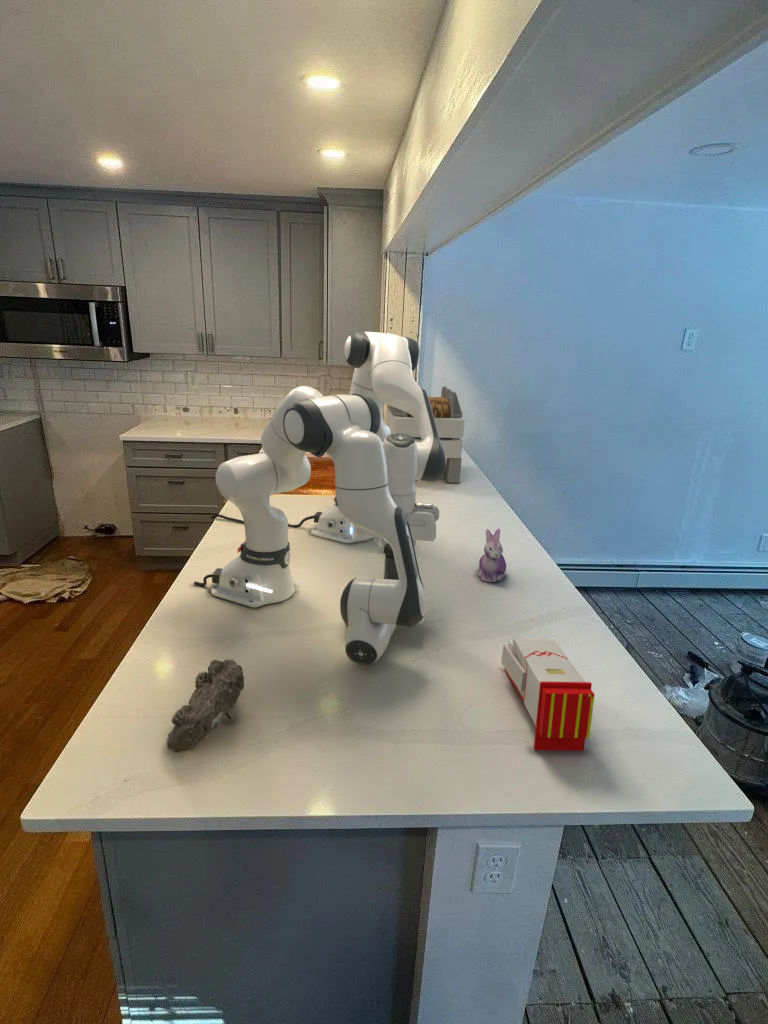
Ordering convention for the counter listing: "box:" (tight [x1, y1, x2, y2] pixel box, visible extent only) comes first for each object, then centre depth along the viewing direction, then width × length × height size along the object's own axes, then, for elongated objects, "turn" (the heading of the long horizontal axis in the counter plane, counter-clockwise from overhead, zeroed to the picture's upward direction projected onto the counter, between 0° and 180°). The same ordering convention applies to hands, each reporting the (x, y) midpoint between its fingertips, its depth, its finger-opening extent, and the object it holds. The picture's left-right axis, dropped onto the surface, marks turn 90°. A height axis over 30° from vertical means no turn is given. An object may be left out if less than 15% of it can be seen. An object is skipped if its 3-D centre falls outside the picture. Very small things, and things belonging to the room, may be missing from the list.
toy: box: [500, 637, 595, 752], centre depth 114 cm, size 12×13×30 cm
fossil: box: [166, 658, 245, 754], centre depth 106 cm, size 22×10×15 cm
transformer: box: [385, 386, 465, 484], centre depth 268 cm, size 34×33×41 cm
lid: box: [383, 542, 394, 557], centre depth 142 cm, size 5×5×2 cm
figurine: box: [477, 527, 507, 583], centre depth 168 cm, size 9×10×15 cm
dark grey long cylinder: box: [383, 554, 399, 580], centre depth 145 cm, size 5×5×18 cm
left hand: (393, 591), depth 147 cm, fingers closed on dark grey long cylinder, 5 cm apart
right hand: (394, 553), depth 143 cm, fingers closed on lid, 5 cm apart
